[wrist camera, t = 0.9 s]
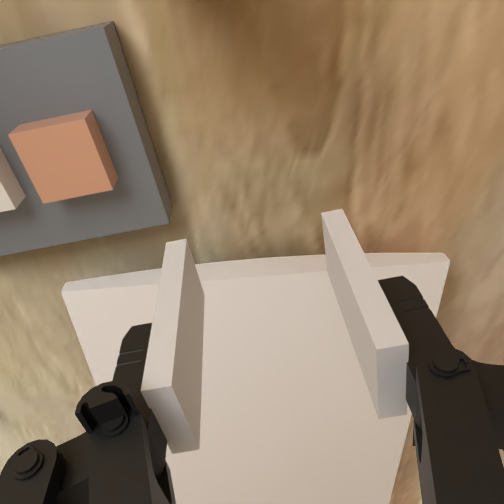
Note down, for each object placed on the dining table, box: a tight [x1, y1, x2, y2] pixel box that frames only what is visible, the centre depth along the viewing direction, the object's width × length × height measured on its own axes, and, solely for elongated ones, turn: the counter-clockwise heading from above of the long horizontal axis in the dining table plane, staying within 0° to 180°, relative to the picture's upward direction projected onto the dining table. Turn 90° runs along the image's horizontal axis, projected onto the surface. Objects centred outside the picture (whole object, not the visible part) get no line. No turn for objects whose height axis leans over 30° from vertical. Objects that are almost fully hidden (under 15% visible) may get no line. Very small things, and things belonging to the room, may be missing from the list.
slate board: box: [0, 21, 172, 256], centre depth 32 cm, size 14×18×3 cm
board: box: [61, 253, 450, 504], centre depth 51 cm, size 45×32×5 cm
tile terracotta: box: [8, 110, 118, 204], centre depth 30 cm, size 5×5×2 cm
